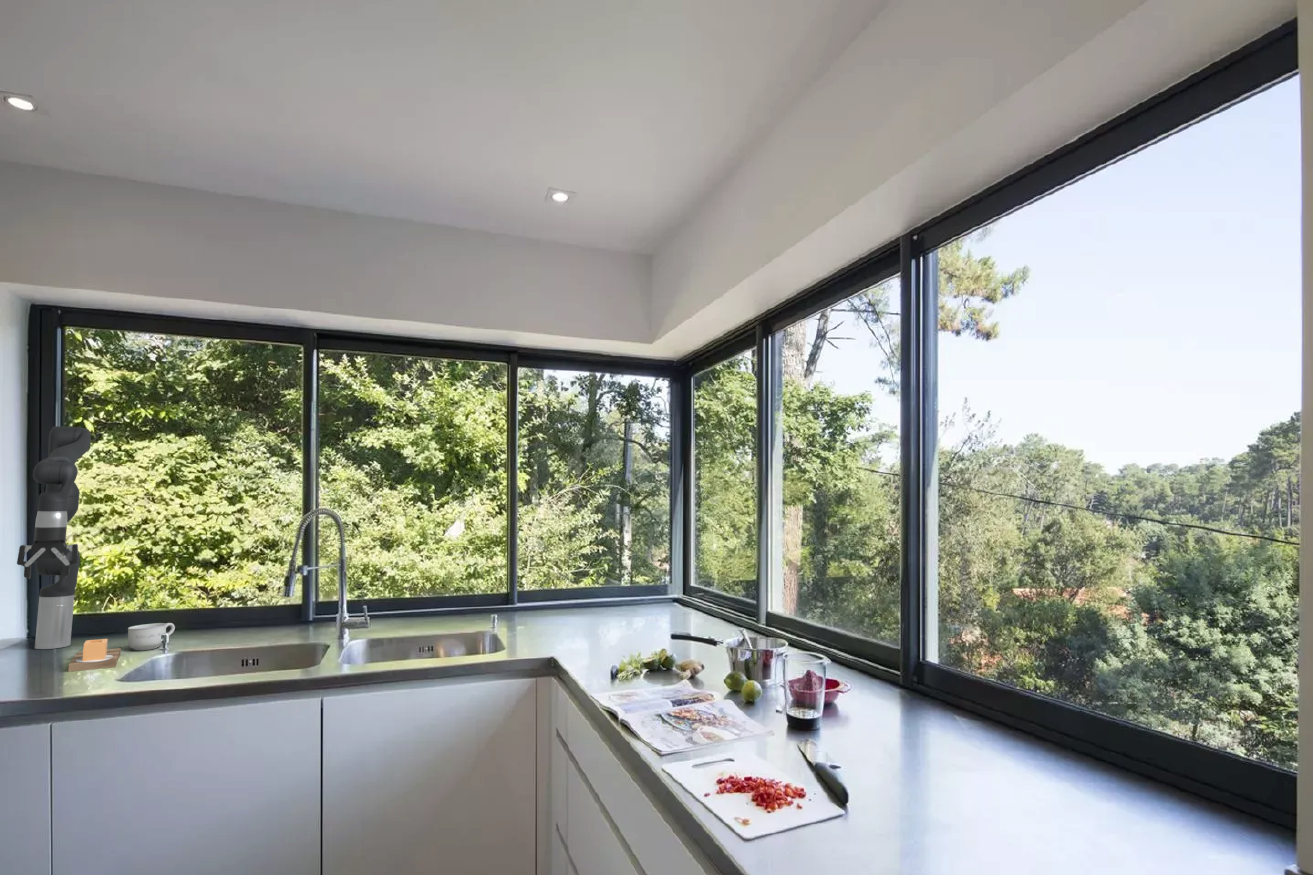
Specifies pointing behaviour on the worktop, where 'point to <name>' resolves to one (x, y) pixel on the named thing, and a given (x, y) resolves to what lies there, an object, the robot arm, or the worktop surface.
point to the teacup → (147, 635)
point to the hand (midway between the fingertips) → (46, 578)
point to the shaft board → (95, 661)
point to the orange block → (95, 649)
